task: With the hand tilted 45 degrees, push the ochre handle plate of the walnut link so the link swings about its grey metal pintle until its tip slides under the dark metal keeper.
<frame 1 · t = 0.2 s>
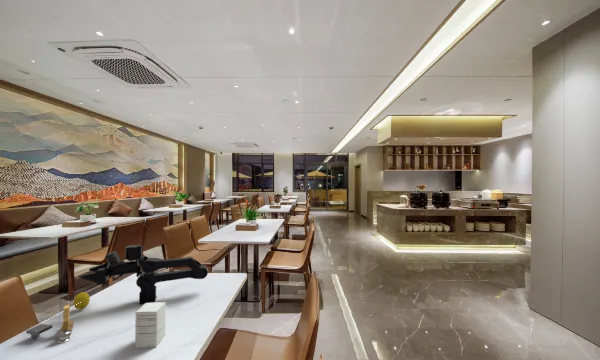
hand: (85, 273, 115), 16 cm above the table, tool horizontal, fingers open, 9 cm apart
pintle: (63, 340, 92), on the table
lemon: (81, 310, 115), on the table
supplement box: (150, 342, 92), on the table
keeper: (39, 337, 94), on the table
link: (66, 318, 97), point 5 cm above the table, hinge at 0.0°
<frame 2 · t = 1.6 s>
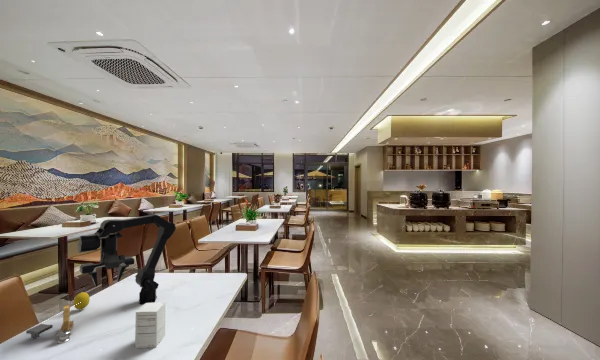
hand: (107, 283, 112), 13 cm above the table, tool pointing down, fingers open, 8 cm apart
nothing on the table moved.
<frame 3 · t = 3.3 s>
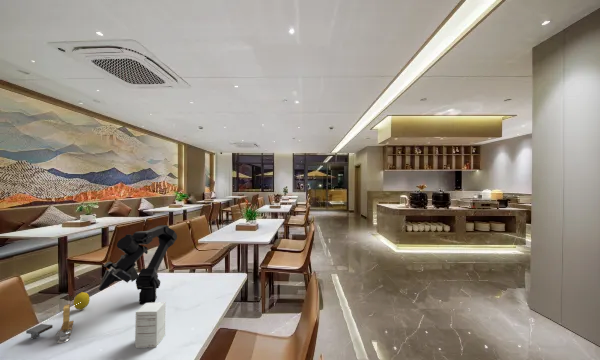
hand: (99, 290, 104), 13 cm above the table, tool tilted 45°, fingers closed
nothing on the table moved.
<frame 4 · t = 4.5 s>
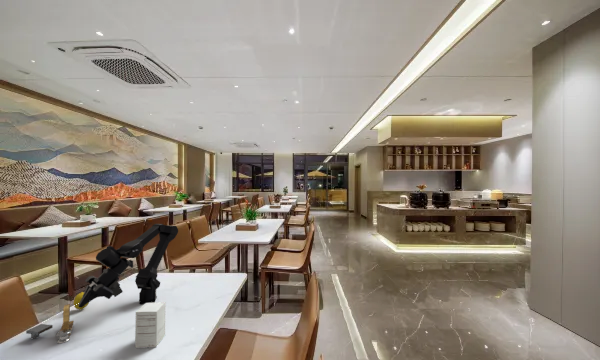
hand: (79, 306, 99), 9 cm above the table, tool tilted 45°, fingers closed
nothing on the table moved.
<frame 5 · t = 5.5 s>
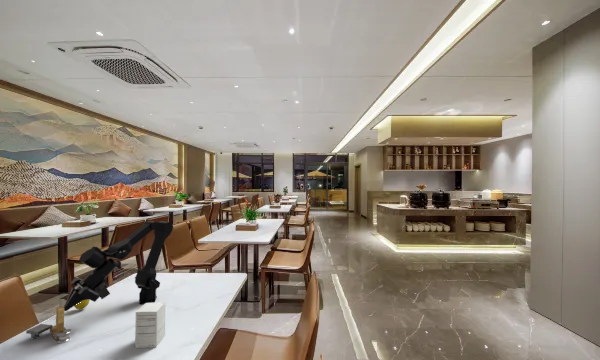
hand: (64, 310, 96), 9 cm above the table, tool tilted 45°, fingers closed, pressing on link
link: (59, 320, 96), point 5 cm above the table, hinge at 19.2°, touching gripper
everything else where it was.
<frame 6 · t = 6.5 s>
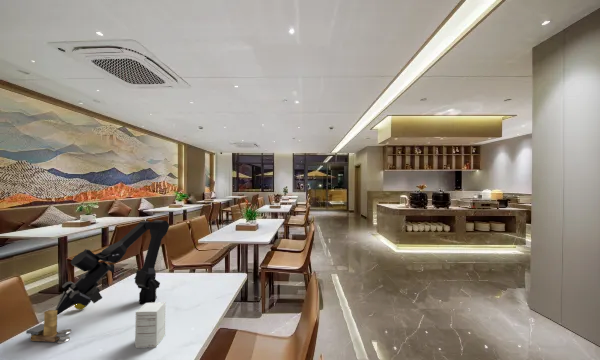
hand: (54, 314, 94), 8 cm above the table, tool tilted 45°, fingers closed
link: (47, 324, 93), point 5 cm above the table, hinge at 50.1°, touching gripper
everything else where it was.
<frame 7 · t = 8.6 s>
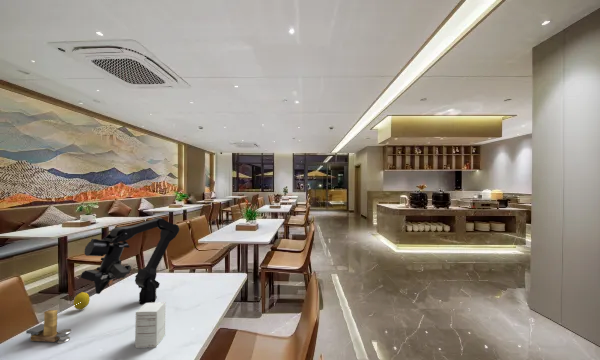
hand: (97, 293, 107), 11 cm above the table, tool tilted 20°, fingers closed
link: (47, 324, 93), point 5 cm above the table, hinge at 50.1°
everything else where it was.
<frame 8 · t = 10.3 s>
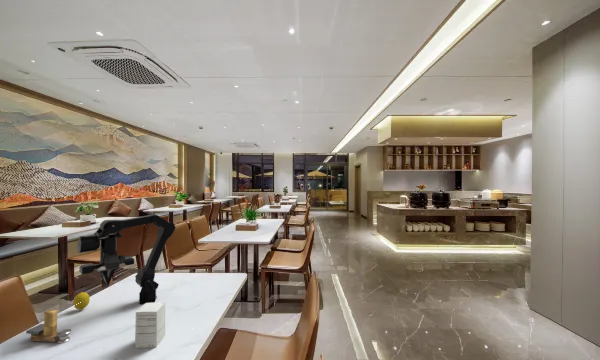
hand: (107, 284, 112), 13 cm above the table, tool pointing down, fingers closed
nothing on the table moved.
at the end: link at +50° (first picture: +0°) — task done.
